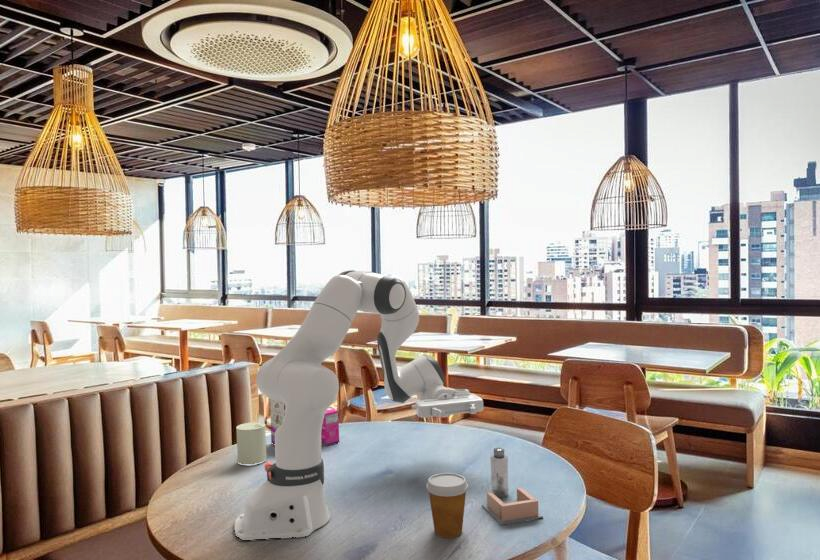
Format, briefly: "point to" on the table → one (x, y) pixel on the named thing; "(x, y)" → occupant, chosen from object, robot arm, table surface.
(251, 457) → the can
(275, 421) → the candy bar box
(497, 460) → the silver water flask
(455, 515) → the disposable coffee cup
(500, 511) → the dock
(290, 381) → the robot arm
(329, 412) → the supplement box
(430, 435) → the table surface
